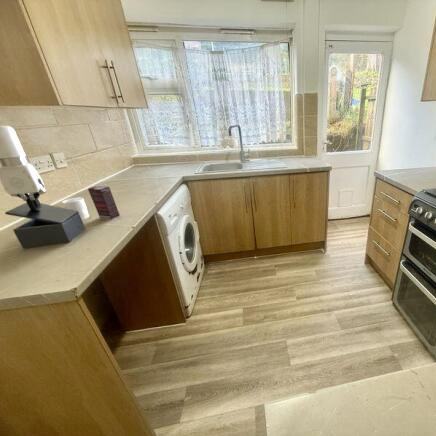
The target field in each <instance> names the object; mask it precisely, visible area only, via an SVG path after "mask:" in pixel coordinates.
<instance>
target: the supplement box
mask: <svg viewBox="0 0 436 436" xmlns="http://www.w3.org/2000/svg"><path fill="white" fill-rule="evenodd" d="M87 190H88V193H89V196H90V198H91V200H92V202H93V205H94V207H95V210H96V212H97V214H98V216H99V219H104V220H105V219H106V220H114V219H116V218H119V217H121V214H120V212H119V209H118V207H117V204H116V202H115V198H114V195H113V193H112V190H111V188H110V186H103V185H102V186H101V185H96V186H92V187H89V188H87Z"/></svg>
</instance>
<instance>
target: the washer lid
mask: <svg viewBox="0 0 436 436" xmlns="http://www.w3.org/2000/svg"><path fill="white" fill-rule="evenodd" d="M40 204H41V208H40V209H38V210H32V211H31V210H30V208H29V206H28V204H27V202H24V203H22V204H20V205H18V206H16V207H13V208H11V209H10V210H6V211H5V213H4V214H5V215H8V216H13V217H18V218H23V219H24V218H25V219H30V220H31V219H35V220H40V221H46V222H51V223H57V224H62V223H64V222H65V221H67V220H68V219H70V218H71V217H73V216H74V215H76V214H77V213H78V211H76V210H71V209H66V208H65V207H62V206H56V205H51V204H48V203H41V202H40Z"/></svg>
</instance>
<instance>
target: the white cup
mask: <svg viewBox="0 0 436 436" xmlns="http://www.w3.org/2000/svg"><path fill="white" fill-rule="evenodd" d="M61 203H62V205H63V208H66V209H71V210H76V211H78V213H79V214H80V217H81V219H82V221H83V220H86V219H88V218H89V217H90V215H89V210H88V208H87V205H86V202H85V199H84V197H83V196H76V197H70V198H68V199H65V200H62V202H61Z"/></svg>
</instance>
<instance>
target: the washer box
mask: <svg viewBox="0 0 436 436" xmlns="http://www.w3.org/2000/svg"><path fill="white" fill-rule="evenodd" d="M12 231H13V233H14V234H15V236H16V239H17V240H18V242H19V244H20V246H21V248H22V249H23V250H28V249H34V248H42V247H49V246H56V245H62V244H69V243H71V242H73V241H74V240H76V238H78V236H80V235H81V234H82V233H84V232H85V231H86V227H85V224H84V222H83V220H82V219H81V217H80V214H79V213H77V214H76V215H74V216H73V217H71V218H70V219H68V220H67V221H65V222H64V223H62V224H57V223H51V222H46V221H40V220H35V219H30V220H28V221H26V222H24V223H22V224H20V225H19V226H17V227H15V228H13V229H12Z"/></svg>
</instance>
